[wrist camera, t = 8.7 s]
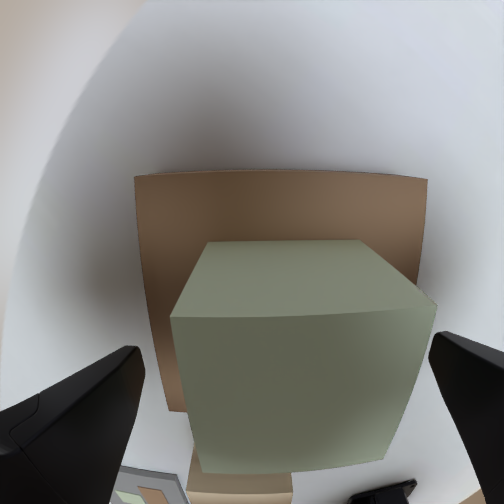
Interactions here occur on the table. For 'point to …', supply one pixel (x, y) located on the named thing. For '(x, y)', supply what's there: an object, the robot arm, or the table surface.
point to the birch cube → (237, 487)
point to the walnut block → (263, 228)
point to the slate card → (146, 488)
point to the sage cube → (297, 354)
